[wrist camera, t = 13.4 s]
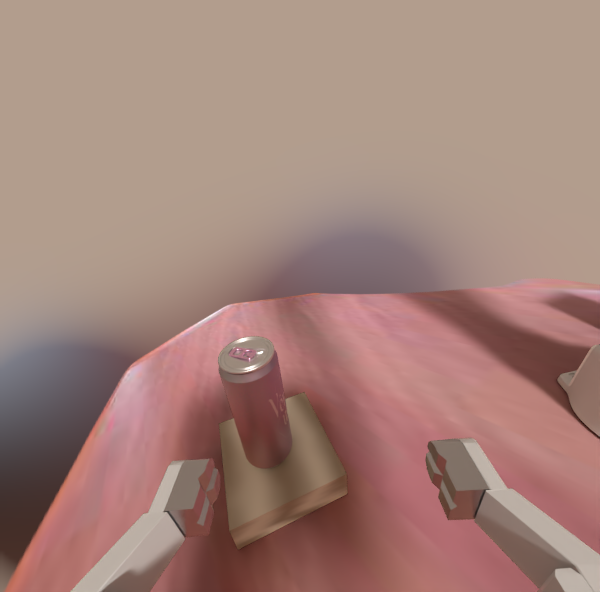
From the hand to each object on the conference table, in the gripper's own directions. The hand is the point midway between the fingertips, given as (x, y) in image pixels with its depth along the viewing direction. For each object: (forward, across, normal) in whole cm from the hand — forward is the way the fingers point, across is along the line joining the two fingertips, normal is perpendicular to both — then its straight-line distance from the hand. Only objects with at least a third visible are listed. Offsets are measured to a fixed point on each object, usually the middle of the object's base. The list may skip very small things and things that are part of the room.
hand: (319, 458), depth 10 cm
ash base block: (+14, +6, +25) cm, 30 cm away
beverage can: (+14, +7, +21) cm, 27 cm away
